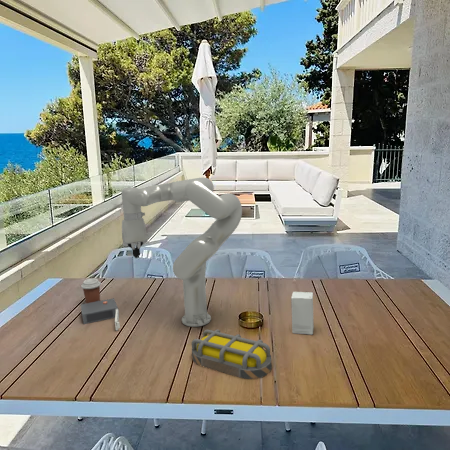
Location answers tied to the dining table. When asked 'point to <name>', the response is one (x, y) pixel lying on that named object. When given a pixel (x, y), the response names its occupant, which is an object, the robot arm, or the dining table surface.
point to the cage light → (232, 354)
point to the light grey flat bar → (117, 319)
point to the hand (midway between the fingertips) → (136, 257)
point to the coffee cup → (91, 290)
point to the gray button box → (98, 310)
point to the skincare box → (302, 312)
